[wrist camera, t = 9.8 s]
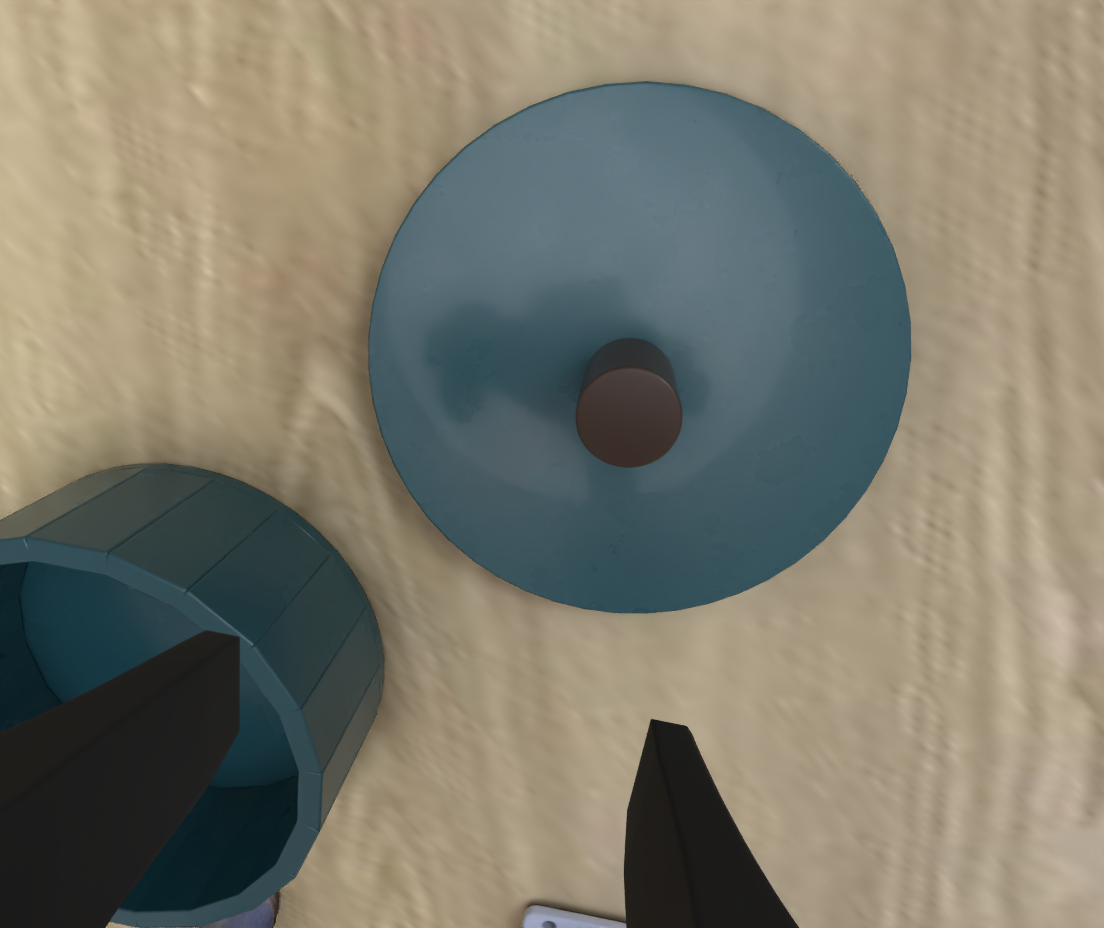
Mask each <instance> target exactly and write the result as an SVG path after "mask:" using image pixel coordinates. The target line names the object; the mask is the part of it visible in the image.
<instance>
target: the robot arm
mask: <svg viewBox="0 0 1104 928" xmlns="http://www.w3.org/2000/svg"><path fill="white" fill-rule="evenodd" d="M239 731H240V637H239V636H234V635H229V634H224V633H219V632H214V631H209V630H205V631H203V632H201V633H199V634H197V635H195V636H193V637H191V638H189V639H187V640H185V641H183V642H181V643H179V644H177V645H175V646H173V647H172V648H170V649H168V650H166V651H164V652H162V653H160V654H158V655H157V656H155V657H153V658H151V659H149V660H147V661H145V662H143V663H142V664H140V665H138V666H136V667H134V668H132V669H130V670H128V671H126V672H124V673H122V674H121V675H119V676H117V677H115V678H113V679H111V680H109V681H107V682H105V683H103V684H101V685H99V686H97V687H96V688H94V689H92V690H90V691H88V692H86V693H84V694H82V695H80V696H77V697H75V698H73V699H71V700H69V701H67V702H65V703H63V704H61V705H59V706H56V707H54V708H52V709H50V710H48V711H46V712H44V713H42V714H40V715H38V716H35V717H33V718H31V719H29V720H27V721H25V722H23V723H21V724H19V725H16V726H14V727H12V728H10V729H7V730H5V731H3V732H0V928H105V927H106V926H107V925H108V923H109V922H110V920H111V919H112V917H113V916H114V914H115V913H116V911H117V910H118V908H119V907H120V906H121V904H122V903H123V902H124V900H125V899H126V898H127V896H128V895H129V894H130V892H131V891H132V890H133V888H134V887H135V885H136V884H137V883H138V881H139V880H140V879H141V877H142V876H143V875H144V873H145V872H146V871H147V869H148V868H149V866H150V865H151V864H152V862H153V861H154V860H155V858H156V857H157V856H158V854H159V853H160V852H161V850H162V849H163V848H164V846H165V845H166V843H167V842H168V841H169V839H170V838H171V837H172V835H173V834H174V833H175V831H176V830H177V829H178V827H179V826H180V824H181V823H182V822H183V820H184V819H185V818H186V816H187V815H188V813H189V812H190V811H191V809H192V808H193V807H194V805H195V804H196V802H197V801H198V800H199V798H200V797H201V796H202V794H203V793H204V791H205V790H206V788H207V787H208V786H209V784H210V782H211V781H212V779H213V777H214V776H215V774H216V772H217V770H218V769H219V767H220V765H221V763H222V762H223V760H224V758H225V756H226V755H227V753H228V751H229V749H230V747H231V745H232V744H233V742H234V740H235V738H236V736H237V734H238V732H239ZM624 888H625V909H626V923H623V922H618V921H613V920H608V919H603V918H598V917H593V916H588V915H583V914H579V913H574V912H569V911H564V910H559V909H554V908H549V907H544V906H539V905H533V906H530V907H528V908H527V909H526V911H525V913H524V918H523V924H522V928H799V927H798V925H797V924H796V923H795V921H794V920H793V918H792V917H791V915H790V914H789V912H788V911H787V909H786V908H785V906H784V905H783V903H782V902H781V900H780V899H779V897H778V896H777V894H776V892H775V891H774V889H773V888H772V886H771V884H770V883H769V881H768V880H767V878H766V876H765V875H764V873H763V871H762V870H761V868H760V866H759V865H758V863H757V862H756V860H755V858H754V856H753V855H752V853H751V851H750V849H749V848H748V846H747V844H746V843H745V841H744V839H743V837H742V835H741V833H740V832H739V830H738V828H737V826H736V824H735V822H734V820H733V819H732V817H731V815H730V813H729V811H728V809H727V807H726V805H725V804H724V802H723V800H722V798H721V796H720V794H719V792H718V790H717V788H716V786H715V783H714V781H713V779H712V777H711V775H710V773H709V771H708V769H707V767H706V765H705V762H704V760H703V758H702V756H701V754H700V751H699V749H698V747H697V745H696V742H695V740H694V738H693V735H692V733H691V731H690V730H689V729H688V727H687V726H684V725H679V724H674V723H669V722H664V721H659V720H654V719H651V721H650V725H649V729H648V733H647V737H646V740H645V744H644V748H643V752H642V756H641V760H640V763H639V767H638V771H637V775H636V779H635V783H634V786H633V790H632V794H631V798H630V802H629V806H628V809H627V823H626V839H625V858H624Z"/></svg>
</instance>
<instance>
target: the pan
mask: <svg viewBox="0 0 1104 928" xmlns="http://www.w3.org/2000/svg"><path fill="white" fill-rule="evenodd" d="M205 630H209V631H214V632H219V633H224V634H229V635H234V636H239V637H240V731H239V732H238V734H237V736H236V738H235V740H234V742H233V744H232V745H231V747H230V749H229V751H228V753H227V755H226V756H225V758H224V760H223V762H222V763H221V765H220V767H219V769H218V770H217V772H216V774H215V776H214V777H213V779H212V781H211V782H210V784H209V786H208V787H207V788H206V790H205V791H204V793H203V794H202V796H201V797H200V798H199V800H198V801H197V802H196V804H195V805H194V807H193V808H192V809H191V811H190V812H189V813H188V815H187V816H186V818H185V819H184V820H183V822H182V823H181V824H180V826H179V827H178V829H177V830H176V831H175V833H174V834H173V835H172V837H171V838H170V839H169V841H168V842H167V843H166V845H165V846H164V848H163V849H162V850H161V852H160V853H159V854H158V856H157V857H156V858H155V860H154V861H153V862H152V864H151V865H150V866H149V868H148V869H147V871H146V872H145V873H144V875H143V876H142V877H141V879H140V880H139V881H138V883H137V884H136V885H135V887H134V888H133V890H132V891H131V892H130V894H129V895H128V896H127V898H126V899H125V900H124V902H123V903H122V904H121V906H120V907H119V908H118V910H117V911H116V913H115V914H114V916H113V917H112V919H111V920H110V922H113V923H118V924H123V925H127V926H132V927H139V928H161V927H199V926H204V925H207V924H210V923H214V922H217V921H220V920H223V919H226V918H229V917H233V916H236V915H239V914H242V913H245V912H248V911H252V910H253V909H256V908H257V907H258V906H259V905H261V904H262V903H263V902H265V901H266V900H267V899H268V898H270V897H271V896H272V895H273V894H275V893H276V892H277V891H279V890H280V889H281V888H282V887H284V886H285V885H286V884H288V883H289V882H290V881H291V880H293V879H294V878H295V877H296V876H297V874H298V872H299V870H300V869H301V867H302V865H303V863H304V861H305V859H306V857H307V855H308V853H309V851H310V849H311V847H312V845H313V843H314V842H315V840H316V838H317V836H318V834H319V832H320V830H321V828H322V826H323V824H324V822H325V820H326V818H327V816H328V813H329V811H330V809H331V807H332V805H333V803H334V801H335V799H336V797H337V795H338V793H339V791H340V789H341V787H342V785H343V783H344V781H345V779H346V777H347V774H348V772H349V770H350V768H351V766H352V764H353V762H354V760H355V758H356V756H357V754H358V752H359V750H360V748H361V746H362V744H363V742H364V740H365V738H366V735H367V733H368V731H369V729H370V727H371V725H372V723H373V721H374V719H375V717H376V715H377V709H378V706H379V703H380V700H381V695H382V688H383V682H384V654H383V648H382V641H381V635H380V631H379V628H378V625H377V621H376V618H375V615H374V612H373V610H372V607H371V605H370V603H369V601H368V598H367V596H366V594H365V592H364V590H363V588H362V587H361V585H360V583H359V582H358V580H357V578H356V577H355V575H354V573H353V572H352V570H351V569H350V567H349V566H348V565H347V563H346V562H345V561H344V560H343V558H342V557H341V556H340V554H339V553H338V552H337V551H336V549H335V548H334V547H333V546H332V545H331V544H330V543H329V542H328V541H327V540H326V539H325V538H324V537H323V536H322V535H321V534H320V533H319V532H318V531H317V530H316V529H315V528H314V527H313V526H311V525H310V524H309V523H308V522H307V521H305V520H304V519H303V518H302V517H300V516H299V515H298V514H297V513H296V512H294V511H293V510H291V509H290V508H288V507H287V506H285V505H284V504H282V503H281V502H279V501H277V500H276V499H274V498H273V497H271V496H270V495H268V494H266V493H264V492H262V491H260V490H258V489H256V488H254V487H252V486H250V485H248V484H246V483H243V482H241V481H238V480H235V479H233V478H230V477H227V476H224V475H222V474H219V473H215V472H211V471H207V470H203V469H199V468H195V467H189V466H181V465H172V464H134V465H128V466H121V467H114V468H111V469H108V470H104V471H101V472H97V473H94V474H90V475H86V476H85V477H83V478H81V479H79V480H77V481H75V482H73V483H71V484H69V485H67V486H65V487H63V488H61V489H59V490H57V491H55V492H54V493H52V494H50V495H48V496H46V497H44V498H42V499H40V500H38V501H36V502H34V503H32V504H30V505H28V506H26V507H24V508H23V509H21V510H19V511H17V512H15V513H13V514H11V515H9V516H7V517H5V518H3V519H1V520H0V732H3V731H5V730H7V729H10V728H12V727H14V726H16V725H19V724H21V723H23V722H25V721H27V720H29V719H31V718H33V717H35V716H38V715H40V714H42V713H44V712H46V711H48V710H50V709H52V708H54V707H56V706H59V705H61V704H63V703H65V702H67V701H69V700H71V699H73V698H75V697H77V696H80V695H82V694H84V693H86V692H88V691H90V690H92V689H94V688H96V687H97V686H99V685H101V684H103V683H105V682H107V681H109V680H111V679H113V678H115V677H117V676H119V675H121V674H122V673H124V672H126V671H128V670H130V669H132V668H134V667H136V666H138V665H140V664H142V663H143V662H145V661H147V660H149V659H151V658H153V657H155V656H157V655H158V654H160V653H162V652H164V651H166V650H168V649H170V648H172V647H173V646H175V645H177V644H179V643H181V642H183V641H185V640H187V639H189V638H191V637H193V636H195V635H197V634H199V633H201V632H203V631H205Z"/></svg>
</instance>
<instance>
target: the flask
mask: <svg viewBox="0 0 1104 928" xmlns="http://www.w3.org/2000/svg"><path fill="white" fill-rule="evenodd" d="M278 907H279V893H277V892H276V893H275V894H273V895H272V896H271V897H270V898H268V899H267V900H266V901H265V902H263V903H262V904H261V905H259V906H258V907H257V908H256V909H253V910H252V911H248V912H245V913H242V914H239V915H236V916H233V917H229V918H226V919H223V920H220V921H217V922H214V923H210V924H207V925H204V926H200V927H199V928H273V926H274V924H275V922H276V916H277V914H278V910H279V908H278Z"/></svg>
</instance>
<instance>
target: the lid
mask: <svg viewBox="0 0 1104 928" xmlns="http://www.w3.org/2000/svg"><path fill="white" fill-rule="evenodd" d="M368 343H369V376H370V384H371V391H372V399H373V405H374V408H375V412H376V416H377V420H378V423H379V427H380V431H381V434H382V437H383V439H384V442H385V444H386V447H387V449H388V452H389V454H390V457H391V459H392V462H393V464H394V466H395V468H396V470H397V471H398V473H399V475H400V477H401V478H402V480H403V482H404V484H405V486H406V487H407V489H408V491H409V493H410V494H411V495H412V497H413V498H414V499H415V501H416V502H417V504H418V505H419V506H420V508H421V509H422V510H423V512H424V513H425V514H426V516H427V517H428V518H429V519H430V520H431V522H432V523H433V524H434V525H435V526H436V527H437V528H438V529H439V530H440V531H441V532H442V533H443V534H444V535H445V537H446V538H447V539H448V540H449V541H451V542H452V543H453V544H454V545H455V546H456V547H458V548H459V549H460V550H461V551H462V552H464V553H465V554H466V555H467V556H468V557H469V558H471V559H472V560H473V561H475V562H476V563H478V564H479V565H481V566H482V567H484V568H485V569H487V570H488V571H490V572H491V573H493V574H494V575H496V576H497V577H499V578H501V579H503V580H505V581H507V582H509V583H511V584H513V585H515V586H517V587H519V588H521V589H523V590H525V591H527V592H530V593H533V594H535V595H538V596H541V597H543V598H546V599H549V600H552V601H554V602H558V603H562V604H566V605H570V606H574V607H578V608H583V609H589V610H596V611H604V612H612V613H656V612H666V611H676V610H682V609H686V608H691V607H696V606H700V605H705V604H709V603H712V602H715V601H718V600H721V599H724V598H727V597H730V596H733V595H736V594H739V593H741V592H743V591H745V590H748V589H750V588H752V587H754V586H756V585H758V584H760V583H763V582H765V581H767V580H769V579H770V578H772V577H774V576H775V575H777V574H778V573H780V572H782V571H783V570H785V569H786V568H788V567H790V566H791V565H793V564H794V563H796V562H797V561H799V560H800V559H801V558H802V557H804V556H805V555H806V554H807V553H809V552H810V551H811V550H812V549H814V548H815V547H816V546H817V545H819V544H820V543H821V542H822V541H823V540H824V539H825V538H826V537H827V536H828V535H829V534H830V533H831V532H832V531H833V530H834V529H835V528H836V527H837V526H838V525H839V524H840V523H841V522H842V521H843V520H844V519H845V518H846V517H847V515H848V514H849V513H850V511H851V510H852V509H853V507H854V506H855V505H856V503H857V502H858V501H859V500H860V498H861V497H862V496H863V494H864V493H865V492H866V490H867V488H868V487H869V485H870V483H871V482H872V480H873V478H874V476H875V475H876V473H877V471H878V470H879V468H880V466H881V464H882V463H883V461H884V459H885V456H886V454H887V451H888V449H889V447H890V444H891V442H892V439H893V437H894V435H895V432H896V430H897V427H898V423H899V420H900V416H901V412H902V408H903V405H904V401H905V397H906V393H907V385H908V378H909V370H910V362H911V321H910V314H909V308H908V302H907V295H906V289H905V284H904V280H903V277H902V274H901V271H900V267H899V264H898V261H897V257H896V254H895V251H894V248H893V246H892V244H891V242H890V240H889V238H888V236H887V233H886V231H885V229H884V227H883V225H882V223H881V221H880V219H879V217H878V215H877V213H876V212H875V210H874V209H873V207H872V206H871V204H870V203H869V201H868V200H867V198H866V197H865V195H864V194H863V192H862V191H861V189H860V188H859V186H858V185H857V183H856V182H855V181H854V180H853V179H852V178H851V177H850V176H849V175H848V173H847V172H846V171H845V170H844V169H843V168H842V167H841V166H840V165H839V164H838V163H837V161H836V160H835V159H834V158H833V157H832V156H831V155H830V154H829V153H828V152H827V151H825V150H824V149H823V148H822V147H820V146H819V145H818V144H817V143H815V142H814V141H813V140H812V139H810V138H809V137H808V136H807V135H806V134H804V133H803V132H802V131H801V130H799V129H798V128H796V127H794V126H793V125H791V124H789V123H788V122H786V121H784V120H782V119H781V118H779V117H777V116H776V115H774V114H772V113H770V112H769V111H767V110H765V109H763V108H761V107H758V106H756V105H753V104H751V103H748V102H746V101H743V100H741V99H738V98H736V97H733V96H731V95H728V94H725V93H721V92H716V91H712V90H708V89H703V88H699V87H695V86H691V85H685V84H673V83H660V82H648V81H645V82H629V83H614V84H604V85H599V86H595V87H590V88H585V89H580V90H576V91H571V92H567V93H564V94H561V95H558V96H556V97H553V98H550V99H548V100H545V101H542V102H539V103H537V104H534V105H531V106H529V107H527V108H525V109H523V110H521V111H520V112H518V113H516V114H514V115H512V116H510V117H508V118H507V119H505V120H503V121H501V122H499V123H497V124H495V125H494V126H493V127H491V128H490V129H488V130H487V131H486V132H484V133H483V134H482V135H480V136H479V137H478V138H476V139H475V140H474V141H472V142H471V143H469V144H468V145H467V146H465V147H464V148H463V149H462V150H461V151H460V152H459V153H458V154H457V155H456V156H455V157H454V158H453V159H452V160H451V161H450V162H449V163H448V164H447V165H446V166H444V167H443V168H442V169H441V170H440V171H439V172H438V173H437V174H436V176H435V177H434V178H433V179H432V181H431V182H430V183H429V185H428V186H427V187H426V188H425V190H424V191H423V192H422V194H421V195H420V196H419V197H418V199H417V200H416V201H415V203H414V204H413V206H412V207H411V209H410V211H409V213H408V214H407V216H406V218H405V219H404V221H403V223H402V225H401V226H400V228H399V230H398V232H397V233H396V235H395V237H394V240H393V242H392V245H391V247H390V249H389V252H388V254H387V257H386V259H385V262H384V264H383V267H382V269H381V273H380V277H379V281H378V284H377V288H376V292H375V296H374V300H373V304H372V312H371V320H370V328H369V336H368Z"/></svg>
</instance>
